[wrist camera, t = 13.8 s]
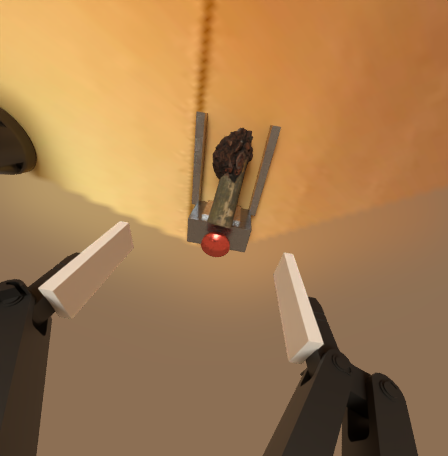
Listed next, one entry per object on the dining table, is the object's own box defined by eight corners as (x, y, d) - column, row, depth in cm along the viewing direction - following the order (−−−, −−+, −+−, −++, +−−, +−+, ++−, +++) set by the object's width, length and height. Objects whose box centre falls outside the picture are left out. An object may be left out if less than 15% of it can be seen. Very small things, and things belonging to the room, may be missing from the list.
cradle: (193, 220, 45) (177, 250, 34) (199, 111, 31) (177, 109, 21) (248, 230, 45) (249, 264, 34) (278, 126, 31) (294, 130, 21)
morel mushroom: (232, 228, 34) (229, 229, 28) (200, 219, 34) (192, 218, 29) (257, 141, 33) (259, 124, 27) (224, 134, 34) (220, 116, 28)
